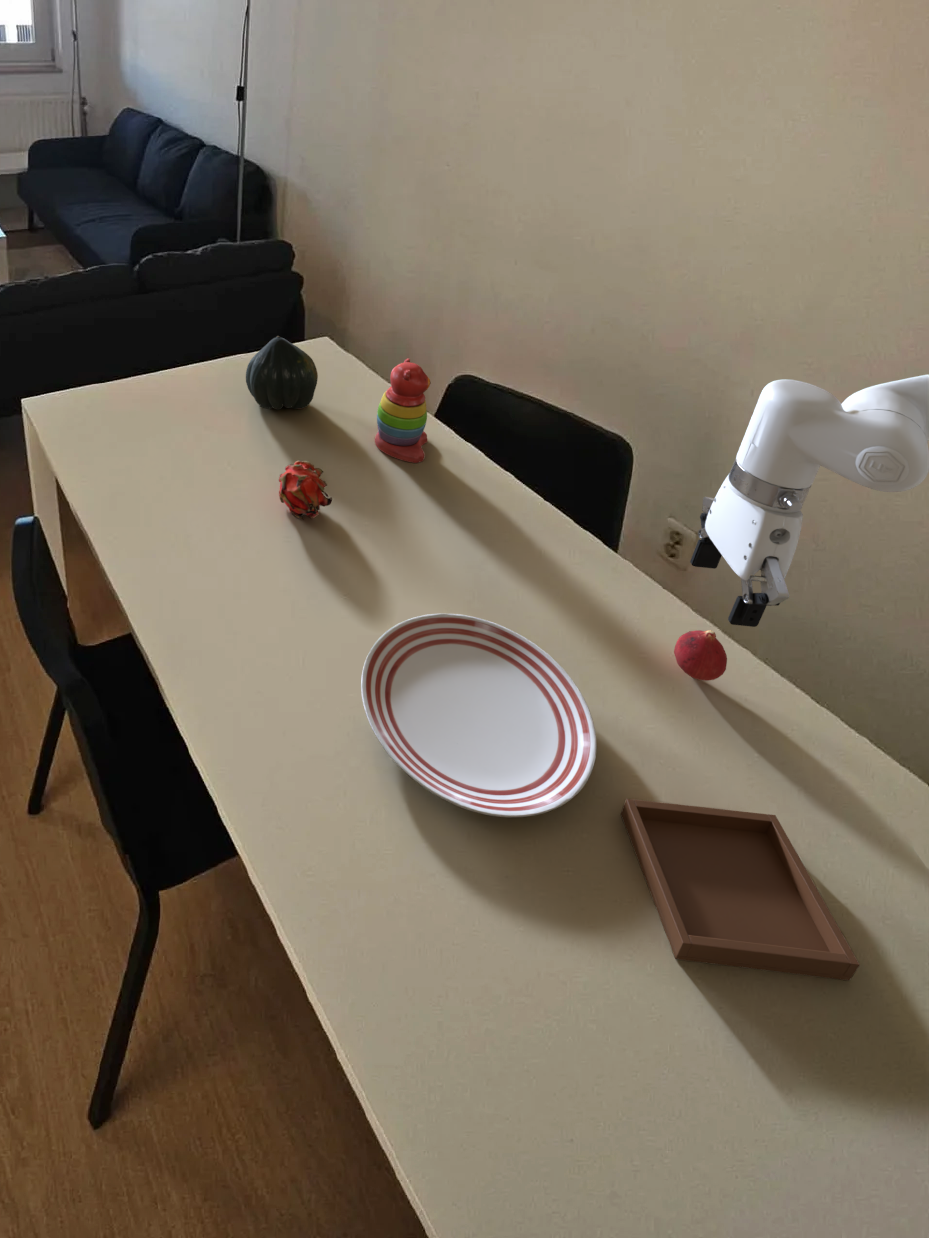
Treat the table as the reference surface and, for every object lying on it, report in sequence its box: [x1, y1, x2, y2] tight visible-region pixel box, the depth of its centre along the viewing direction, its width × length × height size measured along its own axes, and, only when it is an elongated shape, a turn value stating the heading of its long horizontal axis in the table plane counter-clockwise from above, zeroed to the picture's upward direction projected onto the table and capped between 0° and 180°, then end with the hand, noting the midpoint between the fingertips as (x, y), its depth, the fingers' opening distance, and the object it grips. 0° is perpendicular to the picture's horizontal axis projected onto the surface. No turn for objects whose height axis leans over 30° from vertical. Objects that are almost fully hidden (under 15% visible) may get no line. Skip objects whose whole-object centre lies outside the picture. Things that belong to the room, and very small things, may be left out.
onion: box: [673, 629, 728, 682], centre depth 99 cm, size 6×6×8 cm
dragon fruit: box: [278, 459, 333, 521], centre depth 128 cm, size 8×8×12 cm
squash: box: [245, 335, 319, 410], centre depth 160 cm, size 14×15×15 cm
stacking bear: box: [374, 358, 432, 464], centre depth 145 cm, size 11×10×18 cm
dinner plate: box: [360, 613, 598, 818], centre depth 93 cm, size 28×27×3 cm
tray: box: [620, 798, 861, 981], centre depth 76 cm, size 16×14×3 cm
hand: (721, 593), depth 95 cm, fingers open, 9 cm apart
